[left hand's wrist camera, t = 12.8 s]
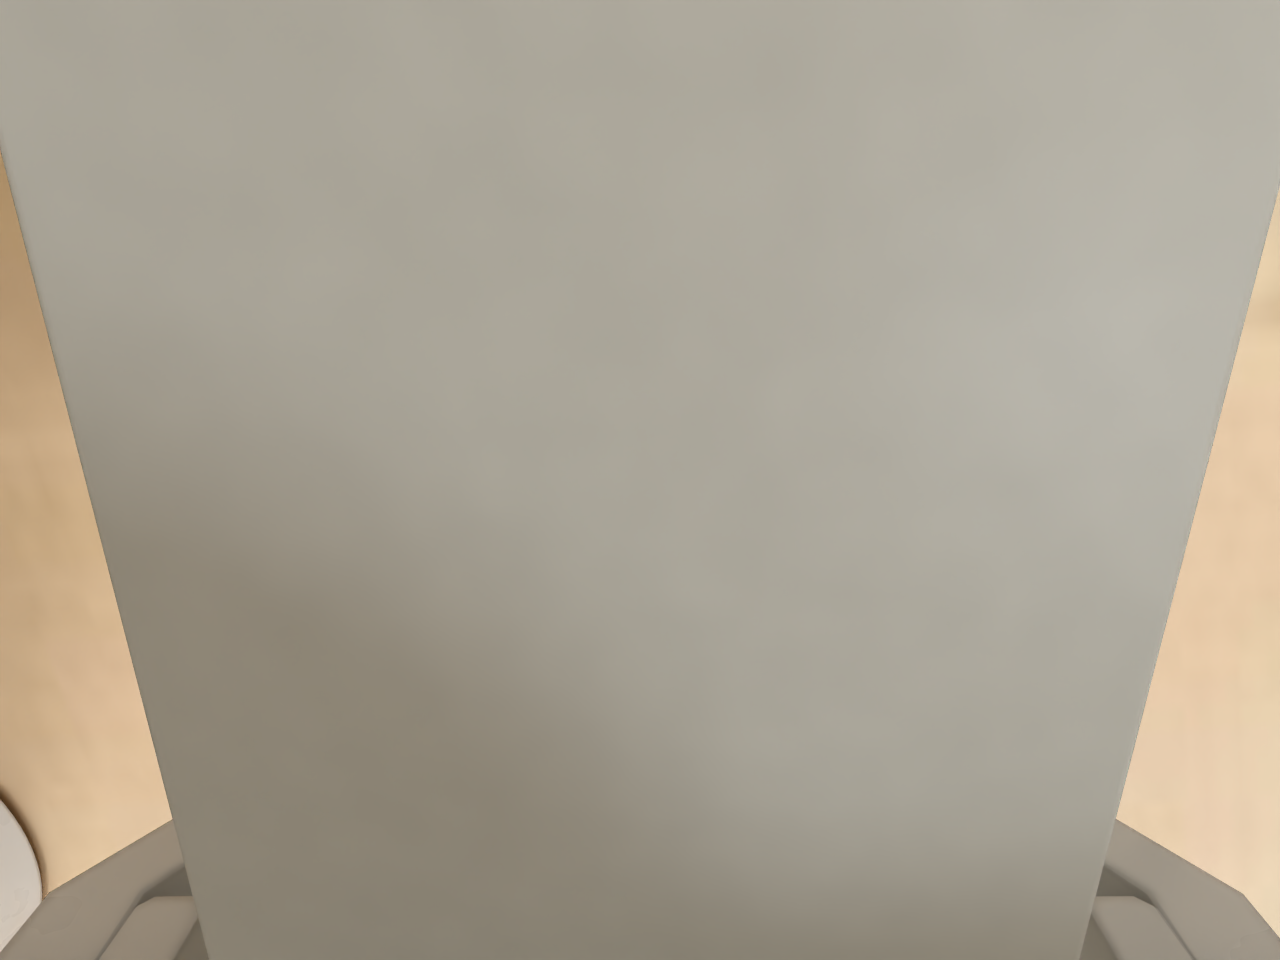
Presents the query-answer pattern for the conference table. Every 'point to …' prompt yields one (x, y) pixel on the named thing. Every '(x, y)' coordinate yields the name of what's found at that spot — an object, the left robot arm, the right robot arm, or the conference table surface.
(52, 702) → the conference table surface
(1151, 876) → the left robot arm
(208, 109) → the bar
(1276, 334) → the conference table surface
